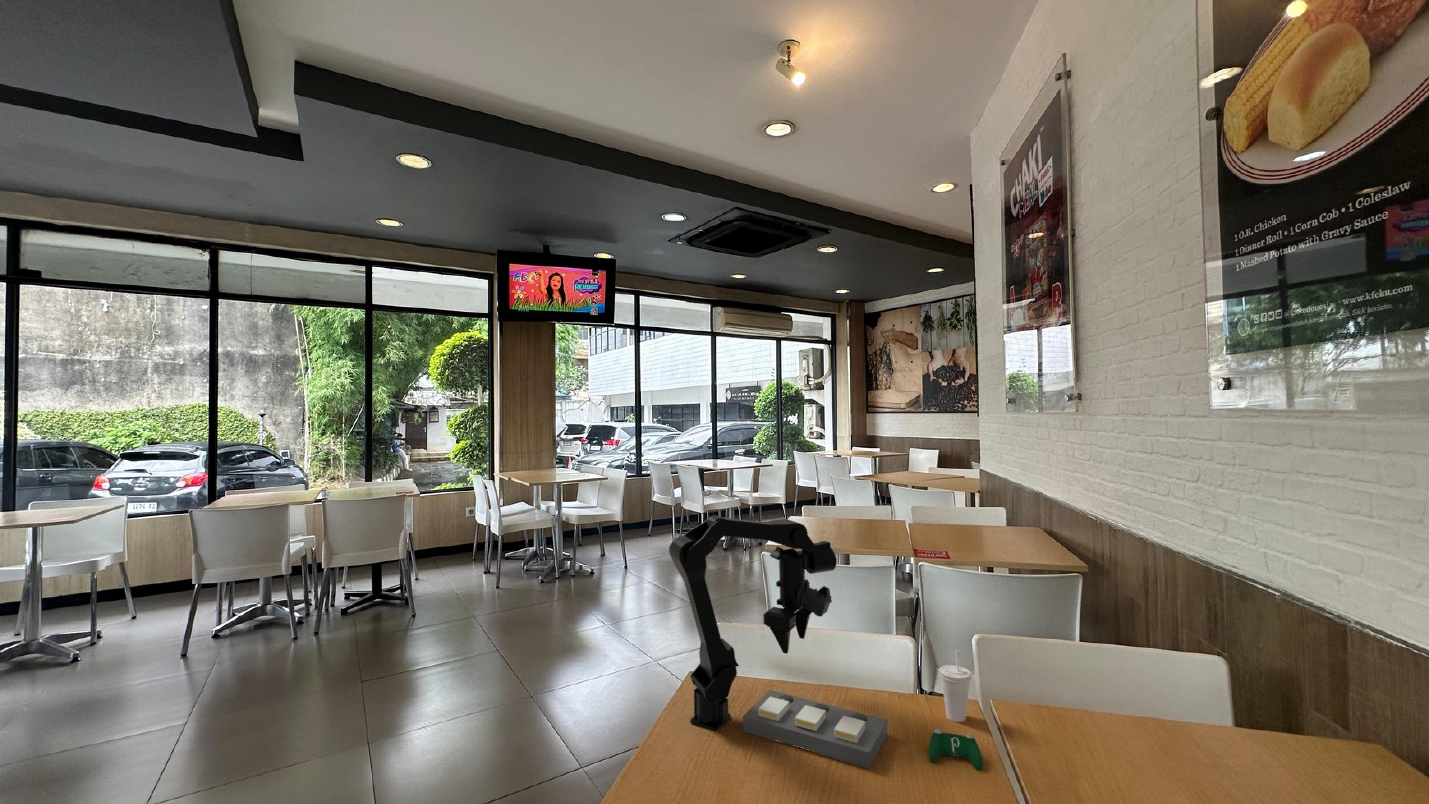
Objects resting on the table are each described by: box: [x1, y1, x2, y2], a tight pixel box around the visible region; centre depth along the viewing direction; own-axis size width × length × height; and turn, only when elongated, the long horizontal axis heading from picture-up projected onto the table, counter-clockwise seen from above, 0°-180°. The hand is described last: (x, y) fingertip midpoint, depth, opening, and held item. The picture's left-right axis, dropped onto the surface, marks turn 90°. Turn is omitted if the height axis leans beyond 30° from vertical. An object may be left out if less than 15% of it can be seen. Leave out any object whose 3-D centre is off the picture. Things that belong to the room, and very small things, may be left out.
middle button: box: [795, 705, 826, 731], centre depth 116 cm, size 4×6×2 cm
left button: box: [759, 697, 789, 721], centre depth 120 cm, size 4×6×2 cm
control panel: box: [742, 689, 888, 770], centre depth 118 cm, size 26×13×3 cm, turn 60°
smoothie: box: [938, 650, 973, 723], centre depth 123 cm, size 6×6×14 cm
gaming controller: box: [928, 728, 984, 771], centre depth 109 cm, size 9×4×6 cm
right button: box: [834, 716, 865, 743], centre depth 112 cm, size 4×6×2 cm
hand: (793, 645), depth 131 cm, fingers open, 9 cm apart
